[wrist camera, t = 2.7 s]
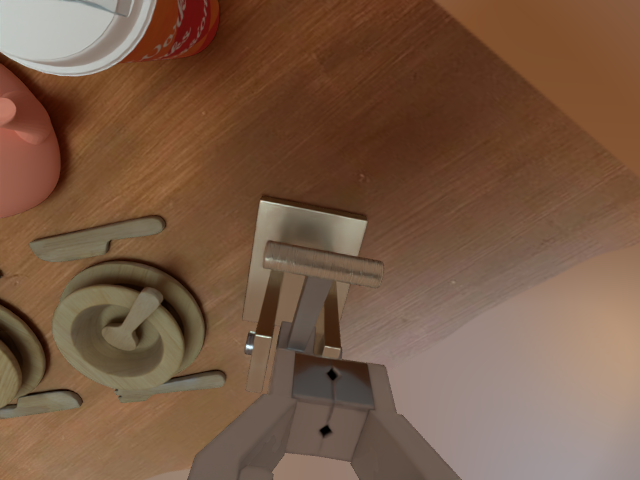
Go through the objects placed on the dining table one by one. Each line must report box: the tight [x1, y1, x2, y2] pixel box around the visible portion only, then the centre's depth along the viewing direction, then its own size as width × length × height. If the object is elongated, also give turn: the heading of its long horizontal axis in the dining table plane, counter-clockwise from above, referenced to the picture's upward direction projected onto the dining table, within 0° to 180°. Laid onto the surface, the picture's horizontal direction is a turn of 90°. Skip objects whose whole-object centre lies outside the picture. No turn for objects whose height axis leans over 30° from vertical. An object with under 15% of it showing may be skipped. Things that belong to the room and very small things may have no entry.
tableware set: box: [0, 216, 226, 419], centre depth 34 cm, size 30×20×6 cm, turn 101°
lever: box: [262, 240, 384, 354], centre depth 20 cm, size 12×5×2 cm, turn 168°
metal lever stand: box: [242, 196, 368, 393], centre depth 28 cm, size 12×9×13 cm
